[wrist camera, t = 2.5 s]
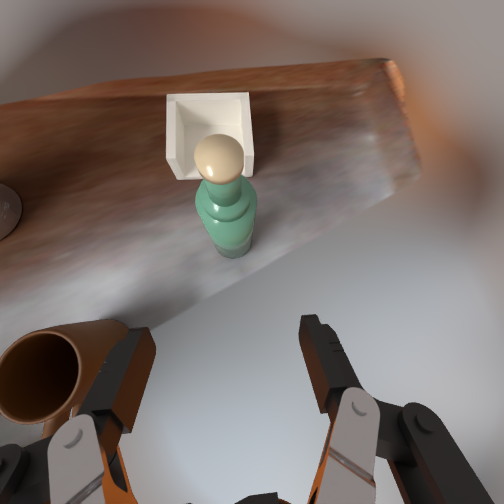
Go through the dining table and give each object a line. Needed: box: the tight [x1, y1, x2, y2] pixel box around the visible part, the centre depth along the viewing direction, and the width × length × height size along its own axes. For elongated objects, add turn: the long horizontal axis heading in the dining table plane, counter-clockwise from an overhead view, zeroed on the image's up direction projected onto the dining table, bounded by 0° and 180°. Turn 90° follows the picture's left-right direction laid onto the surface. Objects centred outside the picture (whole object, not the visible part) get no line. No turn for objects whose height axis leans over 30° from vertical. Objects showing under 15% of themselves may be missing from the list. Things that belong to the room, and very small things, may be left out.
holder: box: [166, 92, 254, 180], centre depth 32 cm, size 10×11×5 cm
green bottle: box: [194, 134, 257, 259], centre depth 22 cm, size 5×5×19 cm
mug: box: [0, 319, 129, 440], centre depth 22 cm, size 12×8×9 cm, turn 16°
